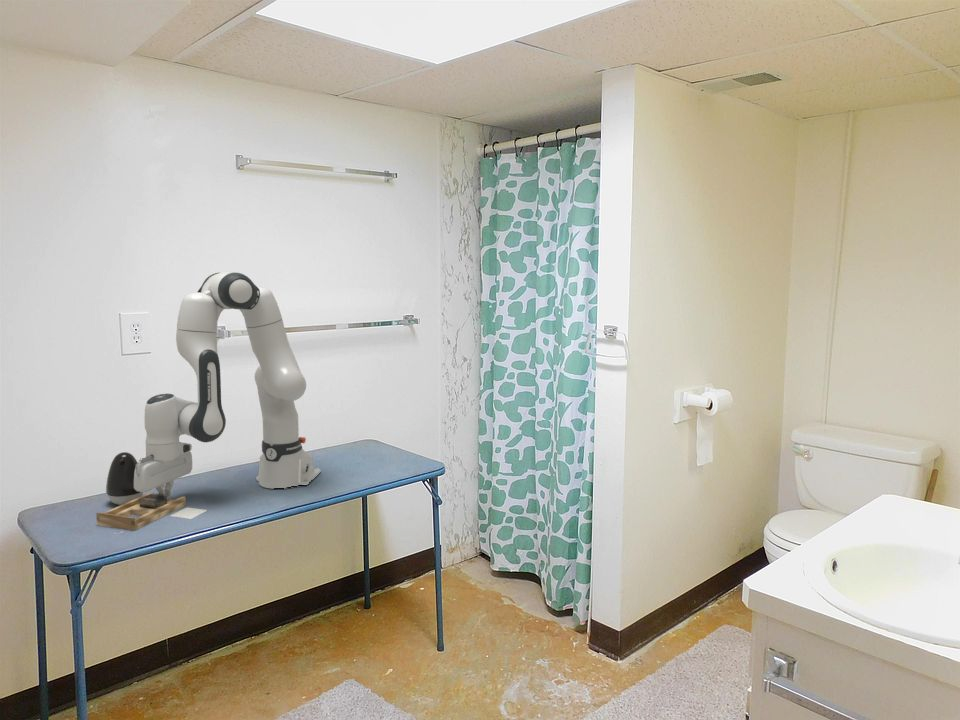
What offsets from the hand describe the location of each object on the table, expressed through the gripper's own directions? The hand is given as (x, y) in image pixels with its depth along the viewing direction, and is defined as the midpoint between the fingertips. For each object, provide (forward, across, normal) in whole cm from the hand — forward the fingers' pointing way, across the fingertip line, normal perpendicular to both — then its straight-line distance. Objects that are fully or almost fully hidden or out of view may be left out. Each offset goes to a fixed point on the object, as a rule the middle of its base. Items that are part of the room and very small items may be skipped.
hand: (165, 497), depth 203 cm
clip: (+1, -5, 0) cm, 5 cm away
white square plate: (+3, -4, -11) cm, 12 cm away
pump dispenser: (+4, 0, +14) cm, 14 cm away
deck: (+3, -9, 0) cm, 9 cm away
